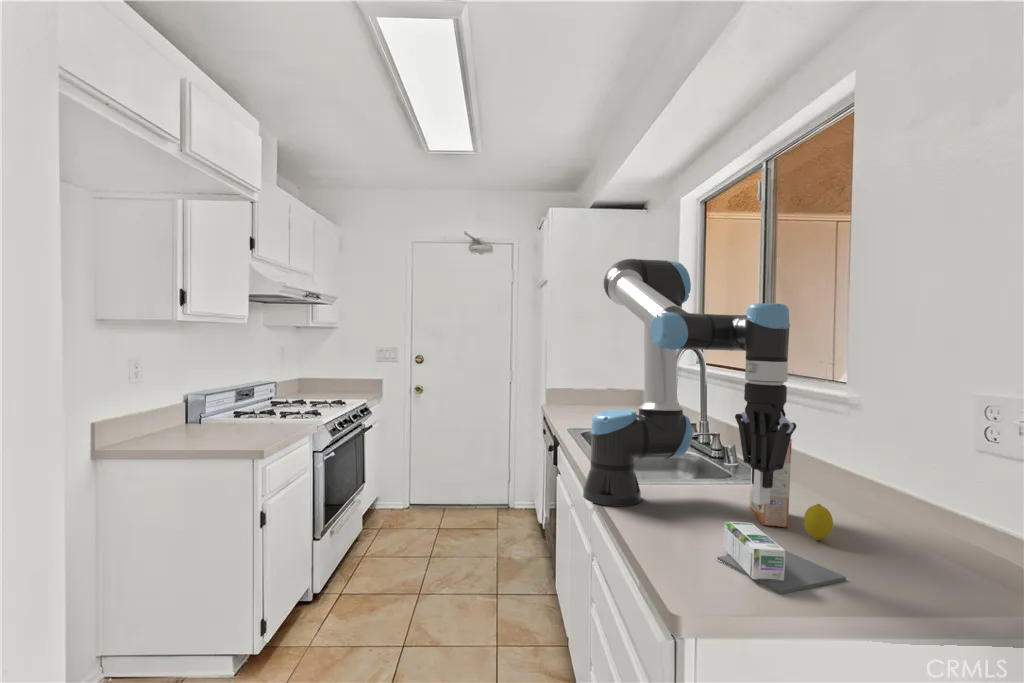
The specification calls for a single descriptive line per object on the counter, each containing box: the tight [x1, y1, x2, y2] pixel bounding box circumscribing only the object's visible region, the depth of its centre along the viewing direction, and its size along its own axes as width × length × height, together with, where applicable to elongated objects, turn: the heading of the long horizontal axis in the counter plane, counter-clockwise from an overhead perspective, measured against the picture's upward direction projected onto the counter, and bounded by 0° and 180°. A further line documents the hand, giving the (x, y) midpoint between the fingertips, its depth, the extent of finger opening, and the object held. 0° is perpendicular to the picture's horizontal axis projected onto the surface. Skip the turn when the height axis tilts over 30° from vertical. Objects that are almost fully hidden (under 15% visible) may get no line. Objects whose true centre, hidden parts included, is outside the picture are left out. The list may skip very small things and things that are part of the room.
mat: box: [716, 549, 847, 595], centre depth 104 cm, size 15×16×1 cm
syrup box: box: [723, 521, 785, 581], centre depth 105 cm, size 6×6×14 cm
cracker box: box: [749, 438, 793, 528], centre depth 135 cm, size 14×6×21 cm, turn 168°
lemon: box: [803, 503, 834, 541], centre depth 120 cm, size 6×6×8 cm
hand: (761, 502), depth 108 cm, fingers closed
